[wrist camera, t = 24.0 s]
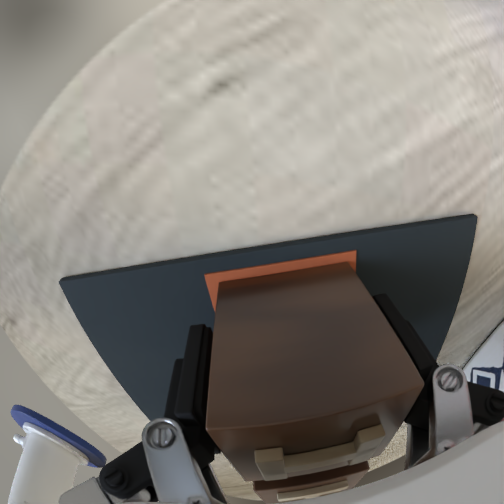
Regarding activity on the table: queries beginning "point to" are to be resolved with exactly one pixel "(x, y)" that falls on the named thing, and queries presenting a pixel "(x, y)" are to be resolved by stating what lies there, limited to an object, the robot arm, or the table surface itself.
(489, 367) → the planter
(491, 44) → the table surface
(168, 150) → the table surface
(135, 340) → the word mat
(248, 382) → the block
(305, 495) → the block
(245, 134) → the table surface
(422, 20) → the table surface
